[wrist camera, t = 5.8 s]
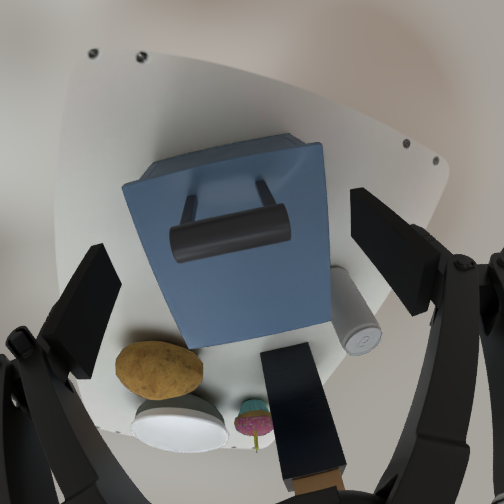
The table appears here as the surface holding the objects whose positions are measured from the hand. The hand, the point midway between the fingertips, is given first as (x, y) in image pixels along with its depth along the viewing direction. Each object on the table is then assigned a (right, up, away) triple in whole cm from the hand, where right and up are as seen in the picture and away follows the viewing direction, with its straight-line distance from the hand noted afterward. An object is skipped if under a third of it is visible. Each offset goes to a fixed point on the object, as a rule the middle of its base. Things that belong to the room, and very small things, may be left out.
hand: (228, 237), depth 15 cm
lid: (0, -1, +10) cm, 10 cm away
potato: (-13, -16, +29) cm, 35 cm away
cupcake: (+1, -32, +40) cm, 52 cm away
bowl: (-13, -31, +38) cm, 50 cm away
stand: (+7, -20, +34) cm, 40 cm away
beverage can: (+12, -4, +25) cm, 29 cm away
